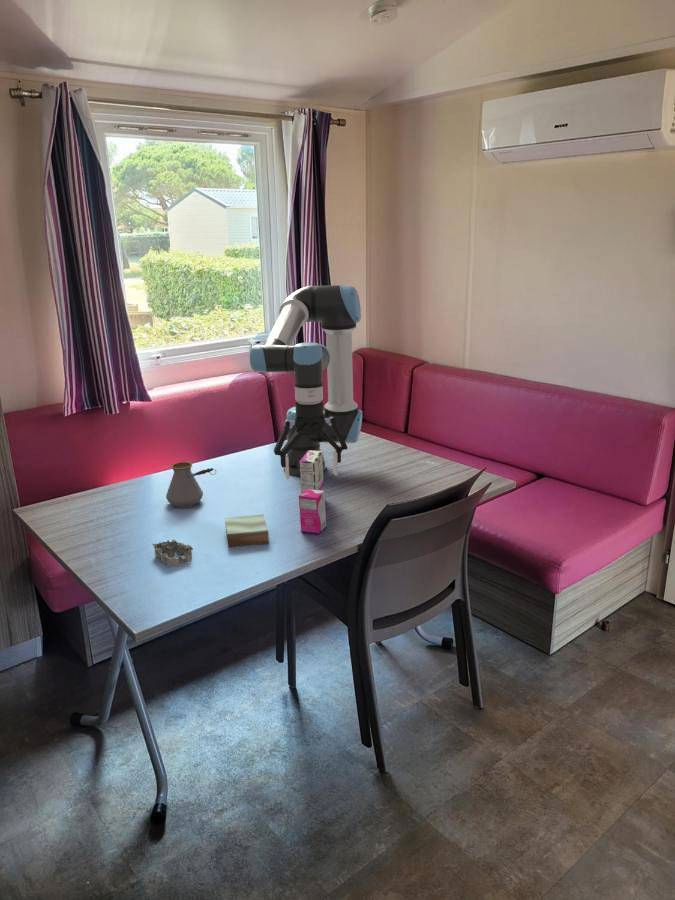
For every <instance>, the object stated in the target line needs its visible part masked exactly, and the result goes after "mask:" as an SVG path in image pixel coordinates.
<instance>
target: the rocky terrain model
mask: <svg viewBox="0 0 675 900" xmlns="http://www.w3.org/2000/svg"><path fill="white" fill-rule="evenodd" d="M152 547H153V549H154V556H155V558H156V559H161V563H167V567H168V568H171V567H175V568H177V567H180V564H182V563H186V562H187V564H188V562H189V563H191V561H192V559H193V553H192V552H193V550H194V548H193V546H192V545H189V544H184V543H182V542H177V540H176V539H173V540H171V541H170V540H166V541H162V542H161V541H160V542H159V543H152ZM175 549H176V550H177V553H178V554H179V553H183V555H179V556H178V557H175V556H176V551H175Z"/></svg>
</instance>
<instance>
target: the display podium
mask: <svg viewBox="0 0 675 900" xmlns="http://www.w3.org/2000/svg"><path fill="white" fill-rule="evenodd" d="M224 521H225V532H226V534H227V535H226V534H225V535H226V541H227V548H228V547H230V548H238V547H237V546H239V547H247V545H248V546H256V545H257V546H258V545H265V544H266V545H267V544H269V529H268V525H267V522H266V519H265V515H264V514H253V515H245V516H243V515H241V516H232V517H225V518H224Z"/></svg>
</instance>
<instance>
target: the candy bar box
mask: <svg viewBox="0 0 675 900" xmlns="http://www.w3.org/2000/svg"><path fill="white" fill-rule="evenodd" d="M322 454H323V450H321V451H315V450H313V451H312V450H308V451H307V453H306V454H305V455H304V457H303V458H302V459H301V460H300V462H299V465H300V476H299V481H300V495H301V494H302V493H303V492H304V491H305V490H306V489H312V490H323V491H324V492H325V490H324V489H325V488H324V487H325V486H324V471H323V458H322Z"/></svg>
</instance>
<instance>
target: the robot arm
mask: <svg viewBox="0 0 675 900" xmlns="http://www.w3.org/2000/svg"><path fill="white" fill-rule="evenodd" d="M361 312H362V308H361V302H360V296H359V293H358V290H357V288H356V287H354V286H352V285H343V284H341V285H340V284H338V285H335V284H334V285H333V284H332V285H308V286H304V287H301V288H299V289H297V290H295V291H294V292H291V293H290V294H289V295H288V296H287V297H286V298H285V299H284V300H283V301H282V303H281V305H280V306H279V310H278V314H279V315H278V317H277V319H276V321H275V323H274V325H273V326H272V329H271V330H270V332H269V334H268V335H267V338H266V339H265V341H264V343H263V344H255V345H252V346H251V348H250V351H249V365H250V368H251V370H252V371H253V372H256V373H257V372H261V373H265V374H266V373H293V376H294V399H295V401H296V402H295V406H293V407H290V408H289V409H288V410H287V412H286V419H284V420H283V428H282V431H281V433H280V435H279V437H278V440H277V441H276V444H275V446H274V447H273V453H274V455H275V456H280V465H281V468H283V472H284V476H285V479H286V481H287V480H288V481H289V480H290V475H291V476H299V477H300V465H299V462H300V460H301V459H302V458H303V457H304V455H305V454H306V453H307V451H308V450H312V451H313V450H315V451H322V449H321V443H325V444H326V443H328V444H330V445H331V447H333V449H332V473H333V474H334V476H338V475H339V472H338V469H339V468H338V467H339V466H338V465H339V463H341V461H342V452H343V451H344V450H348V445H347V444H354V443H357V442H358V440H359V438H360V435H361V429H362V425H363V423H362V422H363V410H361V409H359V407H358V405H359V404H358V403H357V402H356V401H355V400H354V378H353V376H354V374H353V372H354V370H353V337H352V336H353V334H352V333H353V331H355V329H357V324H358V323H360V322H361V319H362V313H361ZM306 323H320V328H321V330H322V331H323V332H324V333H325V337H326V338H325V340H326V341H325V343H326V345H324V344H322V343H318V342H300V343H296V344H295V345H293V344H294V343H295V340H296V338H297V335H298V334H299V332H300V330H301V327H303V326H304V325H306ZM326 369H327V370H326ZM325 370H326V371H327V395H328V396H327V399H328V401H327V402H326V403H325V404H324V402H323V399H324V390H323V389H324V388H323V387H324V386H323V382H324V381H323V378H324V377H323V376H324V375H323V371H325ZM286 439H287V441H286ZM285 442H286V444H285V445H284V443H285ZM338 444H340V445H338ZM283 445H284V446H283ZM322 458H323V472H324V471H325V470H326V460H325V457H324V455H323V453H322Z"/></svg>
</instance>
